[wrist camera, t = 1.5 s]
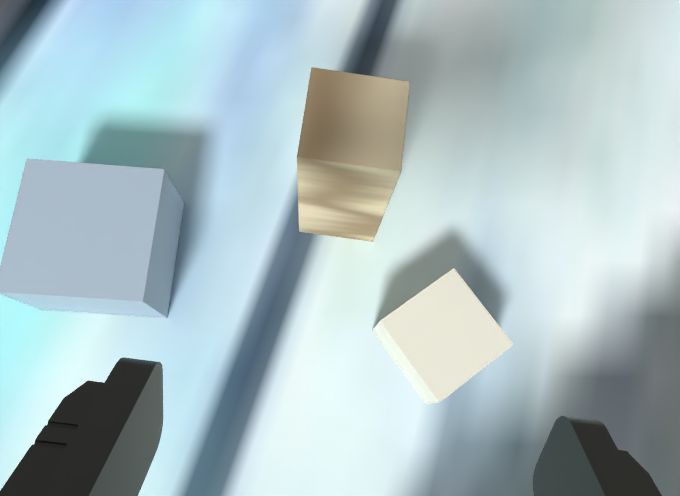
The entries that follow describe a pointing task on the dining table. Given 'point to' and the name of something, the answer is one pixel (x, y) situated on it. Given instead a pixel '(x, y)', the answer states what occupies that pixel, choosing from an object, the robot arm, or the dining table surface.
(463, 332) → the cream block
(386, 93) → the oak block
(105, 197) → the blue base block
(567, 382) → the dining table surface
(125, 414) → the robot arm
